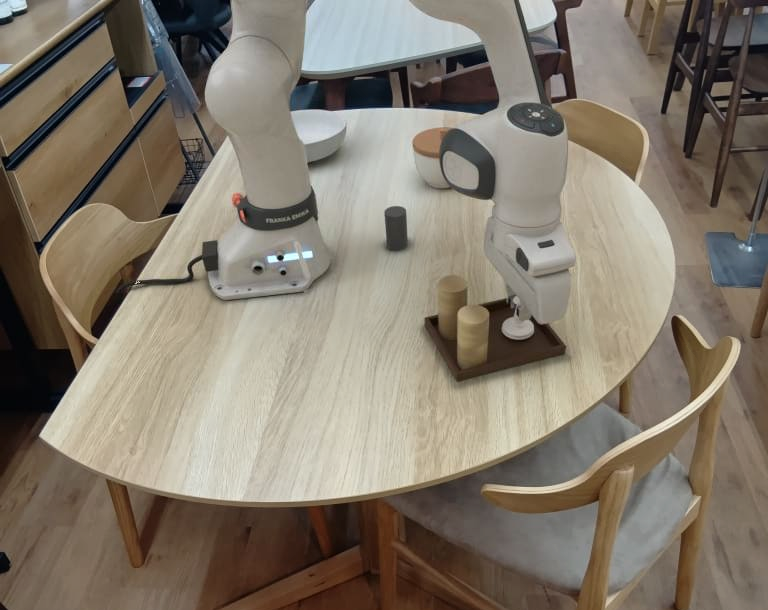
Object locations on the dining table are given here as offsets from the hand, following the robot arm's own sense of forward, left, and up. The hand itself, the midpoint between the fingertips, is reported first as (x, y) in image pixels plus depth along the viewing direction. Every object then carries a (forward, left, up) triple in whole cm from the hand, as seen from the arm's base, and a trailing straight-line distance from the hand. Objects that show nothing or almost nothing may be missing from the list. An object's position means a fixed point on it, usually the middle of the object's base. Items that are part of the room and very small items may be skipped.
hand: (518, 311), depth 101 cm
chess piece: (0, 0, -4) cm, 4 cm away
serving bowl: (-17, +80, -5) cm, 82 cm away
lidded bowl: (+8, +54, -5) cm, 55 cm away
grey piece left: (-9, +33, -5) cm, 34 cm away
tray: (-4, 0, -5) cm, 6 cm away
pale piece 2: (-9, -4, -4) cm, 11 cm away
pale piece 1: (-9, +4, -4) cm, 11 cm away
